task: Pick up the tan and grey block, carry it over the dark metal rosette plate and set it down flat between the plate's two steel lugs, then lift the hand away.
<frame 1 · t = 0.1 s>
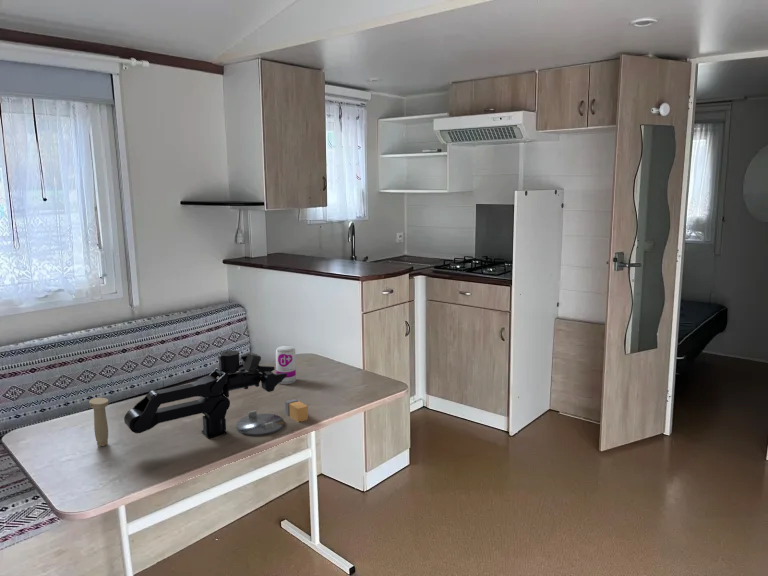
hand: (280, 371, 211), 17 cm above the table, tool horizontal, fingers open, 9 cm apart
tan and grey block: (297, 417, 213), on the table
supplement can: (286, 382, 250), on the table
handle: (102, 445, 190), on the table
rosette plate: (260, 425, 205), on the table
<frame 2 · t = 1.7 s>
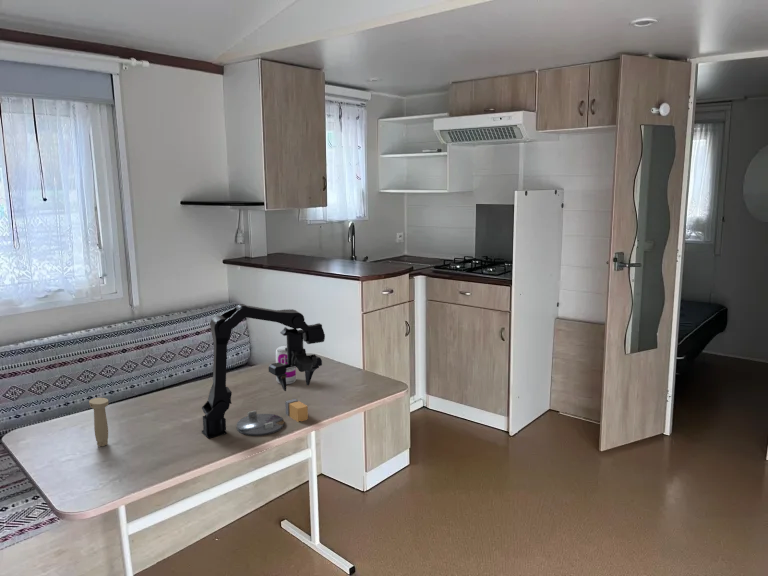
hand: (296, 387, 211), 11 cm above the table, tool pointing down, fingers open, 9 cm apart
nothing on the table moved.
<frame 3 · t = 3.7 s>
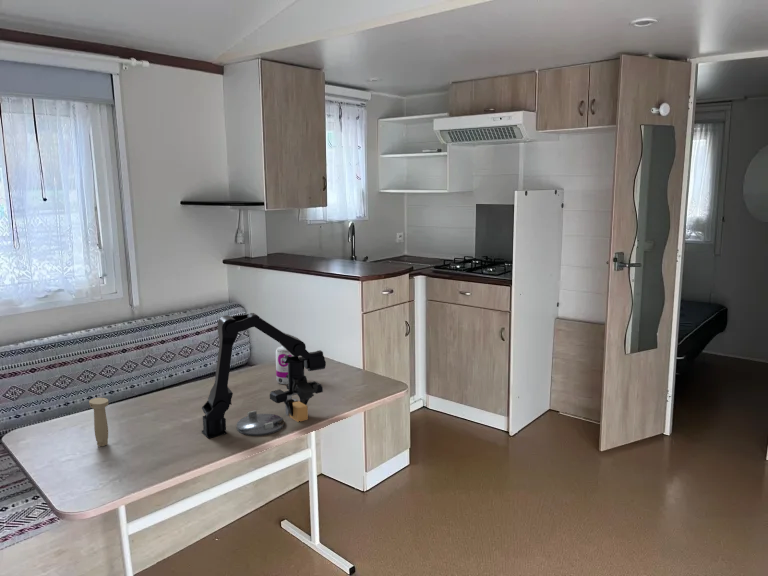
hand: (297, 414, 212), 1 cm above the table, tool pointing down, fingers closed on tan and grey block, 4 cm apart
tan and grey block: (297, 417, 213), on the table, touching gripper
everything else where it was.
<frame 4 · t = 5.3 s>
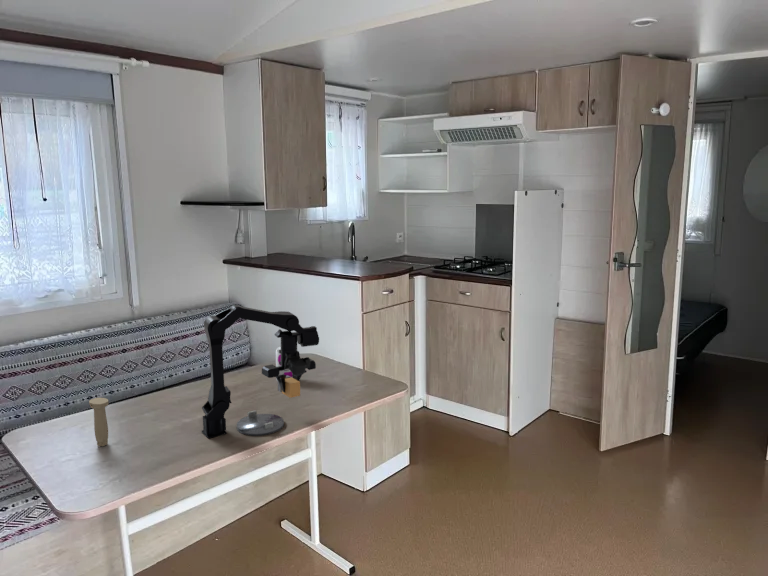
hand: (289, 390, 209), 11 cm above the table, tool pointing down, fingers closed on tan and grey block, 4 cm apart
tan and grey block: (289, 393, 209), point 10 cm above the table, touching gripper
everything else where it was.
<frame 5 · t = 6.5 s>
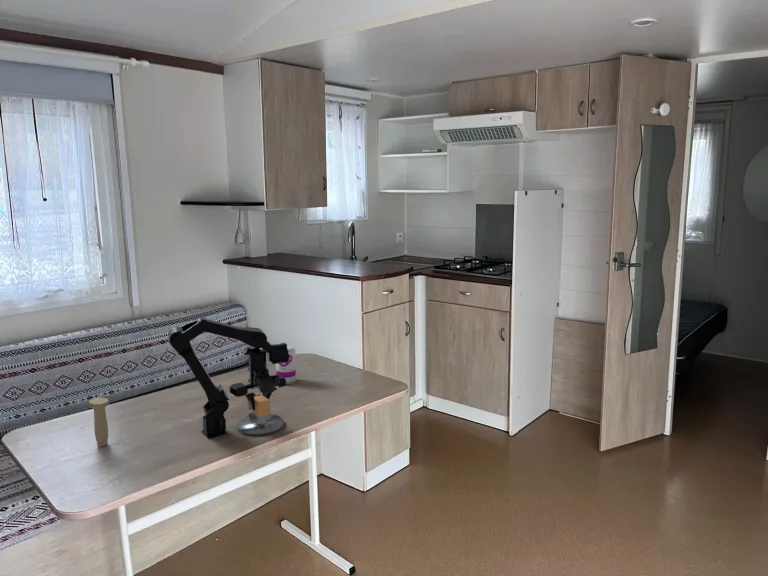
hand: (259, 408, 204), 6 cm above the table, tool pointing down, fingers closed on tan and grey block, 4 cm apart
tan and grey block: (259, 411, 204), point 5 cm above the table, touching gripper
everything else where it was.
when the fingers open (4 cm above the table, at t = 7.3 s): tan and grey block drops 1 cm, resting on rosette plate.
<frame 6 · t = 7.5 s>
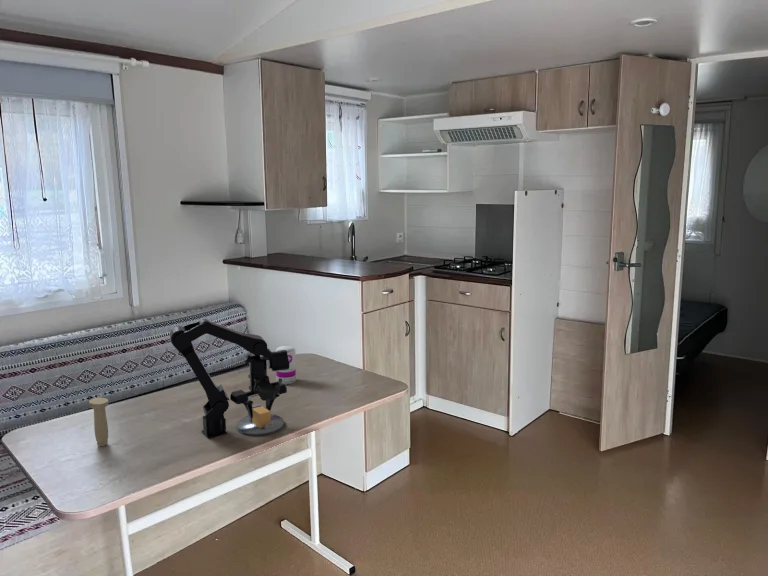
hand: (259, 415, 204), 4 cm above the table, tool pointing down, fingers open, 6 cm apart
tan and grey block: (260, 422, 205), point 1 cm above the table, touching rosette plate
everything else where it was.
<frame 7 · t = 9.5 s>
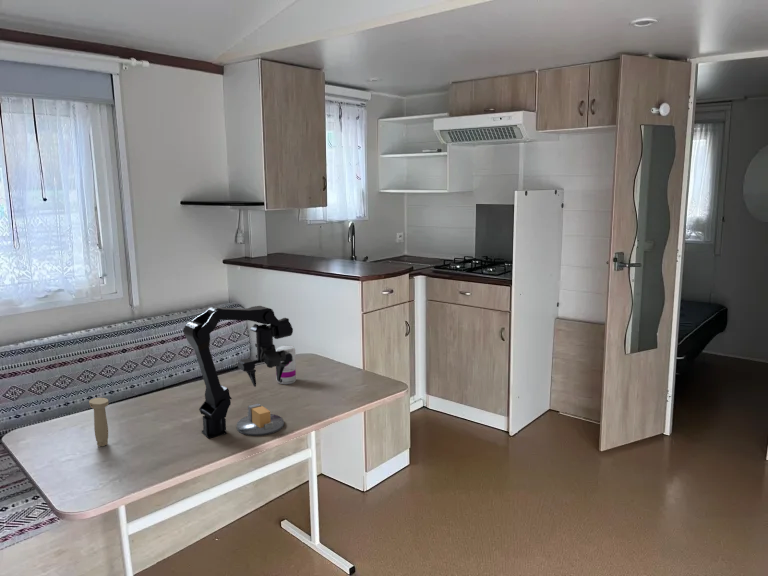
hand: (266, 383, 211), 12 cm above the table, tool pointing down, fingers open, 9 cm apart
nothing on the table moved.
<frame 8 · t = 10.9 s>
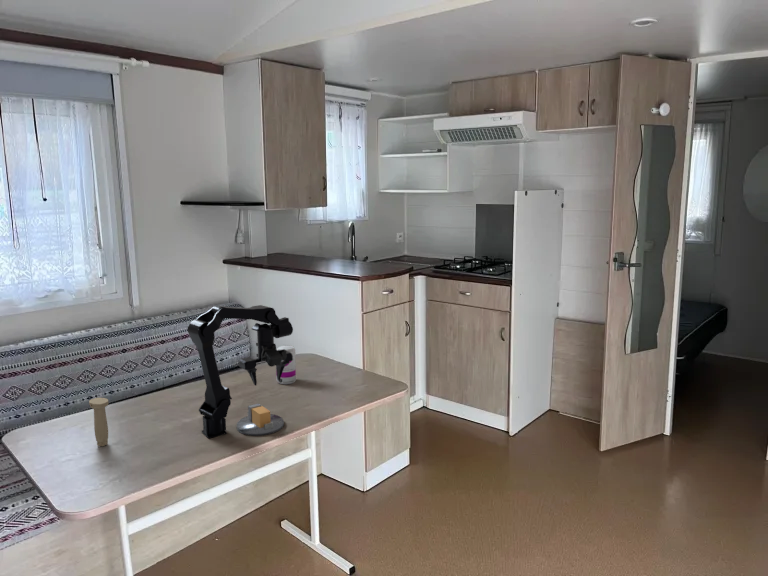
hand: (267, 382, 213), 12 cm above the table, tool pointing down, fingers open, 9 cm apart
nothing on the table moved.
at the end: tan and grey block 0.1 cm off-centre on the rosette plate, point 1.2 cm above the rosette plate's base; tan and grey block tilted 0°; the gripper is holding nothing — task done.
